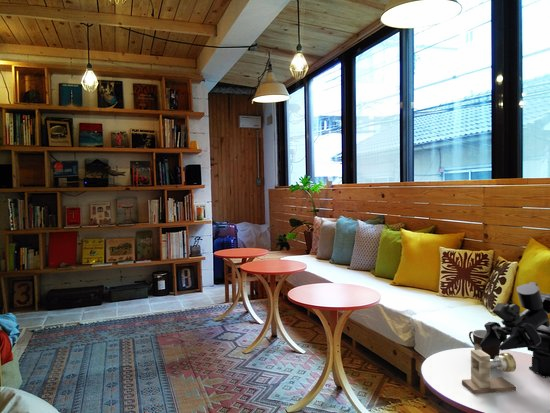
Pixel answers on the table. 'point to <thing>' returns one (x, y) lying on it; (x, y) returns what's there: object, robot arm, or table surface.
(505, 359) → the shaft
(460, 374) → the table surface
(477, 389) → the bearing stand
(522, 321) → the robot arm
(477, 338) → the coffee mug
